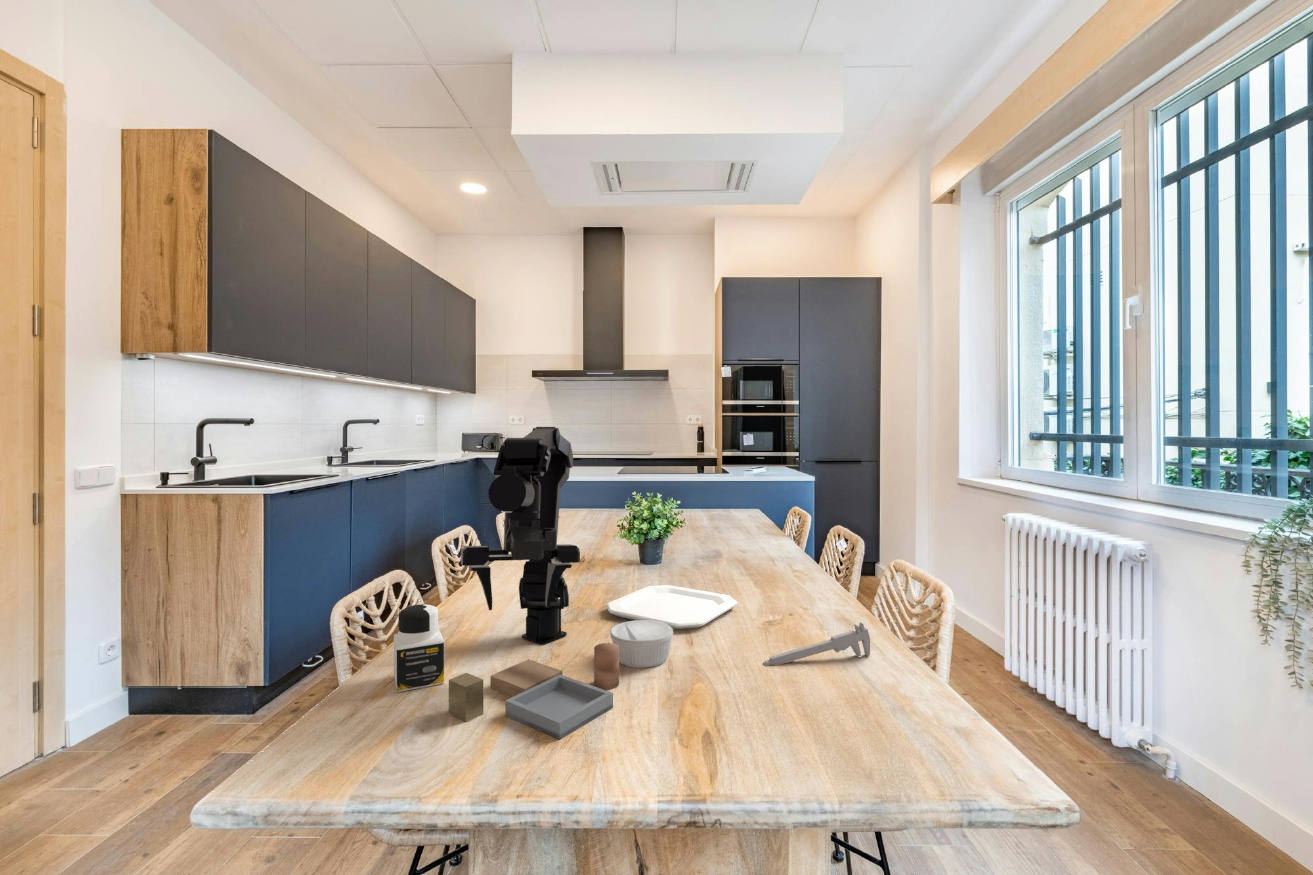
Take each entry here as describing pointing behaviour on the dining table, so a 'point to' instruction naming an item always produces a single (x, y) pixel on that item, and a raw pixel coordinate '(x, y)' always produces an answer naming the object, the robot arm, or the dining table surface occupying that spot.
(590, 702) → the tray
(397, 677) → the medicine bottle
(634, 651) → the ramekin
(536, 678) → the board
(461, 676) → the rectangular block
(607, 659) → the dowel
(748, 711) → the dining table surface
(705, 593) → the plate
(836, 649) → the caliper
